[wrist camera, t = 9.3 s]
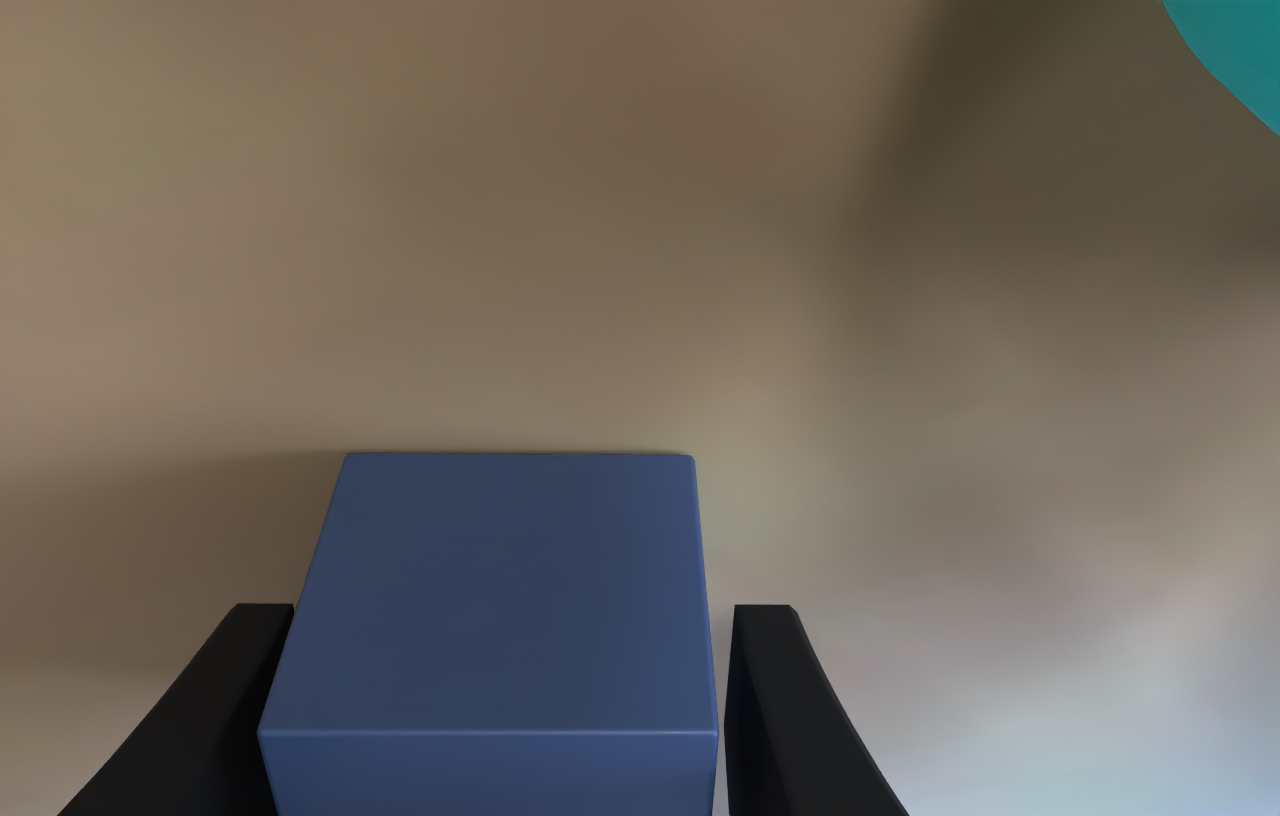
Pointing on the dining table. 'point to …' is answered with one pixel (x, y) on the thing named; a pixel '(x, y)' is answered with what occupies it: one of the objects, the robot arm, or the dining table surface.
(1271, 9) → the turquoise spool
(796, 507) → the dining table surface
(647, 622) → the block
